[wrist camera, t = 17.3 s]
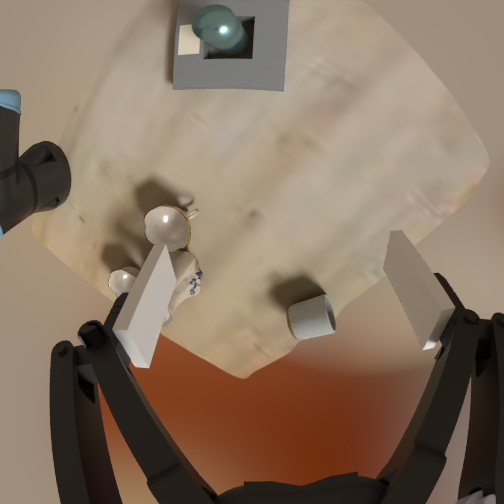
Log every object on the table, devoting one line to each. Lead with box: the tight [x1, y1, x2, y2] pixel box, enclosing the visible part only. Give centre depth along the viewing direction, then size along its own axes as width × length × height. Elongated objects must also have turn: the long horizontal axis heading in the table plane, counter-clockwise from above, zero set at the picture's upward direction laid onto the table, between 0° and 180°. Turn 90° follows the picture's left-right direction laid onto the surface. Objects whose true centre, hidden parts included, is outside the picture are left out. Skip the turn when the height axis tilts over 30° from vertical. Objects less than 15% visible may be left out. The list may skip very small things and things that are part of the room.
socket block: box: [173, 0, 289, 91], centre depth 32 cm, size 16×16×3 cm
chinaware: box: [108, 204, 203, 328], centre depth 48 cm, size 28×17×17 cm, turn 145°
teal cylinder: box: [192, 4, 249, 56], centre depth 29 cm, size 5×5×12 cm
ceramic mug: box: [286, 294, 336, 339], centre depth 54 cm, size 11×8×8 cm
